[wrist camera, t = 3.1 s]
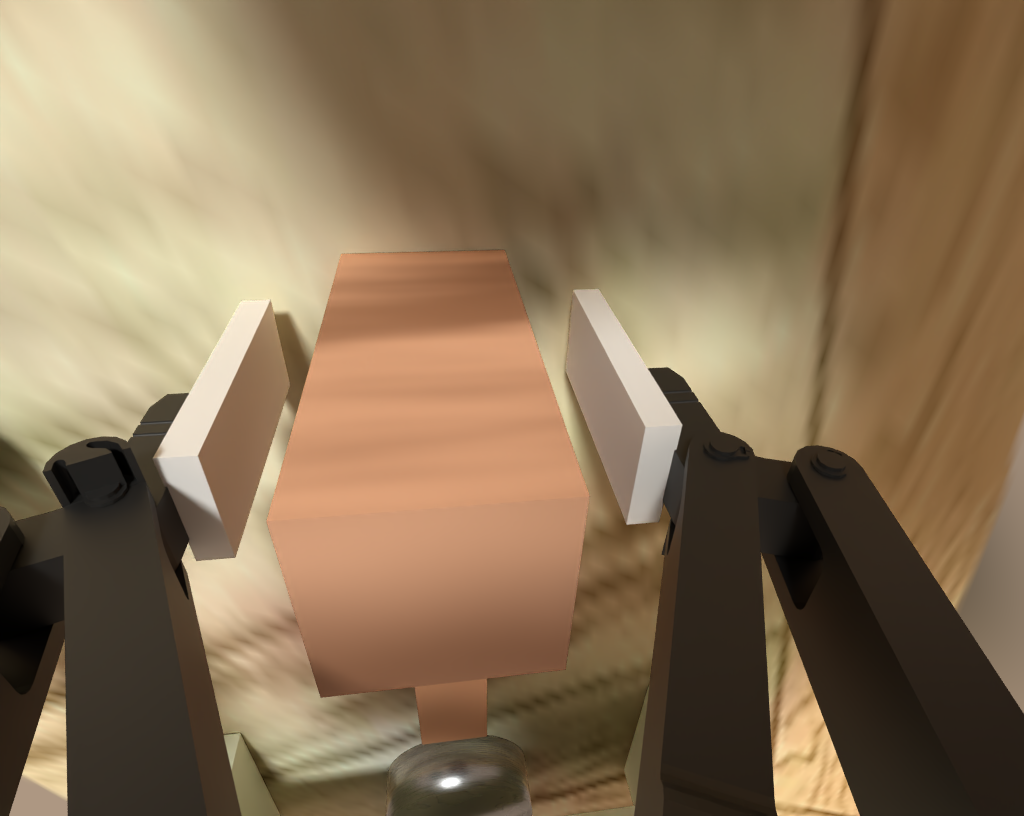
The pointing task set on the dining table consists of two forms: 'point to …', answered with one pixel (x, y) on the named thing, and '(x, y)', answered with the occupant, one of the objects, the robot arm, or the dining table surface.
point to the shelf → (263, 812)
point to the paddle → (429, 490)
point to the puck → (460, 780)
